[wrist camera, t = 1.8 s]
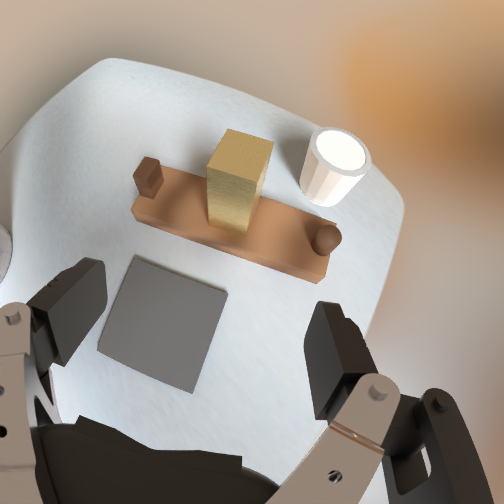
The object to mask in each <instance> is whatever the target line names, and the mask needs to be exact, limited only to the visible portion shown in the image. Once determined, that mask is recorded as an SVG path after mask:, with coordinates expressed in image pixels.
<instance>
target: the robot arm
mask: <svg viewBox="0 0 504 504" xmlns="http://www.w3.org/2000/svg"><path fill="white" fill-rule="evenodd" d="M11 252H12V242H11V237H10V234H9V232H8V231H7V229H6V228H4V227H3V226H2V225H1V224H0V282H1V281H2V279H3V278H4V276H5V274H6V272H7V269H8V266H9V263H10V259H11ZM106 305H107V286H106V273H105V264H104V262H103V261H101V260H96V259H92V258H88V257H85V258H83V259H82V260H81V261H79V262H78V263H77V264H76V265H75V266H74V267H71V268H69V269H66V270H64V271H62V272H60V273H59V274H58V275H57V276H56V277H55V278H53V280H51V281H50V282H49V283H48V284H47V286H44V287H43V288H42V289H41V290H40V291H39V292H38V293H37V294H36V295H35V296H33V297H32V298H31V299H30V300H29V301H28V302H27V303H26V304H24V303H20V302H14V303H9V304H7V305H5V306H3V307H2V308H0V504H358V503H359V501H360V499H361V498H362V496H363V494H364V492H365V491H366V489H367V487H368V485H369V483H370V481H371V479H372V478H373V476H374V474H375V472H376V470H377V468H378V466H379V464H380V462H381V461H382V465H383V470H384V476H385V482H386V487H387V493H388V499H389V504H494V502H493V498H492V495H491V491H490V488H489V485H488V482H487V479H486V476H485V473H484V470H483V467H482V464H481V461H480V459H479V456H478V453H477V451H476V448H475V446H474V444H473V441H472V438H471V436H470V434H469V431H468V429H467V427H466V424H465V422H464V420H463V417H462V415H461V413H460V411H459V409H458V407H457V404H456V402H455V401H454V399H453V398H452V396H450V395H449V394H448V393H447V392H445V391H443V390H441V389H438V388H431V389H428V390H427V391H426V392H425V393H424V394H423V395H422V397H421V398H416V397H411V396H407V395H403V394H400V391H399V389H398V387H397V385H396V384H395V383H394V382H393V381H392V380H391V379H389V378H388V377H386V376H383V375H381V374H379V373H378V371H377V368H376V366H375V364H374V361H373V359H372V357H371V354H370V352H369V349H368V347H366V343H365V340H364V339H363V336H362V333H361V331H360V329H359V327H358V326H357V325H356V324H355V323H354V322H353V321H352V320H351V319H350V318H345V316H344V313H343V311H342V309H341V306H340V304H338V303H331V302H324V301H318V303H317V304H316V307H315V309H314V312H313V315H312V318H311V321H310V323H309V326H308V329H307V332H306V335H305V339H304V354H305V359H306V365H307V371H308V377H309V383H310V389H311V395H312V401H313V407H314V414H315V420H327V422H328V427H327V429H326V430H325V432H324V433H323V434H322V436H321V437H320V438H319V439H318V441H317V442H316V443H315V445H314V446H313V447H312V449H311V450H310V451H309V452H308V454H307V455H306V456H305V457H304V459H303V460H302V461H301V462H300V464H299V465H298V466H297V467H296V468H295V469H294V471H293V472H292V473H291V474H290V475H289V476H288V477H287V479H286V480H285V481H284V482H283V483H282V484H281V485H280V486H279V485H277V484H276V483H275V482H274V481H272V480H271V479H269V478H268V477H266V476H264V475H262V474H260V473H258V472H256V471H254V470H251V469H249V468H246V467H243V466H242V456H236V455H228V454H220V453H213V452H207V451H201V450H154V449H151V448H148V447H146V446H145V445H143V444H141V443H139V442H137V441H135V440H134V439H132V438H130V437H128V436H127V435H125V434H123V433H121V432H120V431H118V430H117V429H115V428H112V427H109V426H107V425H104V424H101V423H98V422H96V421H93V420H91V419H88V418H86V417H83V416H81V415H79V417H78V419H77V421H76V423H75V424H66V423H62V421H61V418H60V415H59V412H58V407H57V402H56V397H55V391H54V385H53V378H52V372H51V369H50V366H51V364H52V363H53V362H54V363H56V364H58V365H61V366H63V367H65V365H66V364H67V362H68V361H69V359H70V358H71V356H72V355H73V354H74V352H75V351H76V349H77V348H78V346H79V345H80V343H81V342H82V341H83V339H84V338H85V336H86V335H87V334H88V332H89V331H90V329H91V328H92V327H93V325H94V324H95V323H96V321H97V320H98V319H99V317H100V316H101V315H102V313H103V312H104V310H105V308H106ZM424 447H426V451H427V454H428V457H429V460H430V464H431V474H430V476H429V478H428V474H427V471H426V466H425V463H424V459H423V456H422V453H421V450H422V449H423V448H424Z"/></svg>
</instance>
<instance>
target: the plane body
mask: <svg viewBox="0 0 504 504" xmlns="http://www.w3.org/2000/svg"><path fill="white" fill-rule="evenodd" d="M133 178H134V180H135V183H136V185H137V188H138V190H139V193H140V194H139V196H138V197H137V199H136V201H135V203H134V204H133V206H132V208H131V211H132V213H133V215H134V217H135V219H136V220H137V221H139V222H141V223H144V224H147V225H150V226H153V227H155V228H158V229H161V230H164V231H167V232H169V233H172V234H175V235H178V236H181V237H183V238H186V239H189V240H192V241H195V242H197V243H200V244H203V245H206V246H209V247H212V248H214V249H217V250H220V251H223V252H226V253H229V254H232V255H234V256H237V257H240V258H243V259H246V260H249V261H252V262H254V263H257V264H260V265H263V266H266V267H269V268H272V269H275V270H277V271H280V272H283V273H286V274H289V275H292V276H295V277H298V278H301V279H304V280H307V281H309V282H312V283H315V284H317V283H318V282H319V281H321V280H322V279H323V278H324V277H325V274H326V270H327V266H328V262H329V257H330V253H331V252H332V251H333V250H334V249H335V248H336V247H337V246H338V245H339V244H340V242H341V240H342V235H341V232H340V231H339V229H338V228H337V227H336V223H334V222H331V221H328V220H326V219H323V218H320V217H318V216H315V215H312V214H310V213H307V212H304V211H302V210H299V209H296V208H293V207H290V206H288V205H285V204H282V203H279V202H276V201H273V200H270V199H268V198H265V197H262V196H260V199H259V203H258V206H257V209H256V211H255V214H254V217H253V219H252V222H251V224H250V227H249V230H248V232H247V235H246V238H242V237H239V236H236V235H233V234H230V233H228V232H225V231H222V230H219V229H216V228H213V227H210V226H209V216H208V196H207V179H206V178H203V177H199V176H196V175H193V174H189V173H186V172H183V171H179V170H176V169H172V168H169V167H165V166H162V165H160V162H159V160H157V159H153V158H149V157H144V159H143V160H142V162H141V163H140V165H139V166H138V168H137V169H136V171H135V172H134V174H133Z"/></svg>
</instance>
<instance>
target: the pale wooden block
mask: <svg viewBox="0 0 504 504" xmlns="http://www.w3.org/2000/svg"><path fill="white" fill-rule="evenodd" d="M273 144H274V142H271V141H268V140H265V139H262V138H259V137H255V136H252V135H249V134H245V133H242V132H238V131H235V130H231V129H227V131H226V133H225V134H224V136H223V138H222V139H221V141H220V143H219V145H218V146H217V148H216V150H215V152H214V153H213V155H212V157H211V159H210V161H209V162H208V164H207V166H206V172H207V196H208V216H209V226H210V227H213V228H216V229H219V230H222V231H225V232H228V233H230V234H233V235H236V236H239V237H242V238H246V235H247V232H248V230H249V227H250V224H251V222H252V219H253V217H254V214H255V211H256V209H257V206H258V203H259V199H260V195H261V191H262V187H263V183H264V179H265V175H266V172H267V168H268V164H269V160H270V156H271V152H272V148H273Z"/></svg>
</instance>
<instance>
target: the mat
mask: <svg viewBox="0 0 504 504" xmlns="http://www.w3.org/2000/svg"><path fill="white" fill-rule="evenodd" d="M227 297H228V293H225V292H222V291H220V290H217V289H214V288H211V287H209V286H206V285H203V284H200V283H198V282H195V281H192V280H190V279H187V278H184V277H182V276H179V275H177V274H174V273H171V272H169V271H166V270H164V269H161V268H158V267H156V266H153V265H151V264H148V263H146V262H143V261H141V260H138V259H136V258H134V260H133V262H132V264H131V266H130V269H129V271H128V273H127V275H126V277H125V280H124V282H123V284H122V287H121V289H120V291H119V294H118V296H117V298H116V301H115V303H114V305H113V308H112V310H111V313H110V315H109V318H108V320H107V323H106V326H105V328H104V331H103V334H102V336H101V339H100V342H99V344H98V347H97V351H99V352H101V353H103V354H105V355H106V356H108V357H110V358H112V359H114V360H116V361H118V362H120V363H122V364H124V365H126V366H128V367H130V368H132V369H134V370H137V371H139V372H141V373H143V374H145V375H147V376H150V377H152V378H154V379H157V380H159V381H161V382H164V383H166V384H168V385H171V386H173V387H176V388H178V389H181V390H183V391H186V392H189V393H191V394H193V391H194V388H195V386H196V383H197V380H198V377H199V374H200V372H201V369H202V366H203V363H204V360H205V358H206V355H207V352H208V349H209V347H210V344H211V341H212V338H213V335H214V333H215V330H216V327H217V324H218V322H219V319H220V316H221V313H222V311H223V308H224V305H225V302H226V300H227Z"/></svg>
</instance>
